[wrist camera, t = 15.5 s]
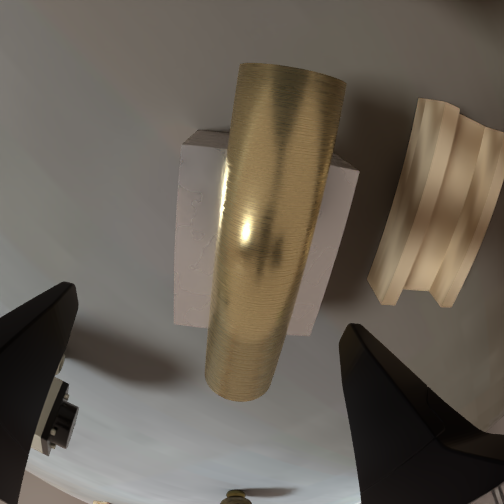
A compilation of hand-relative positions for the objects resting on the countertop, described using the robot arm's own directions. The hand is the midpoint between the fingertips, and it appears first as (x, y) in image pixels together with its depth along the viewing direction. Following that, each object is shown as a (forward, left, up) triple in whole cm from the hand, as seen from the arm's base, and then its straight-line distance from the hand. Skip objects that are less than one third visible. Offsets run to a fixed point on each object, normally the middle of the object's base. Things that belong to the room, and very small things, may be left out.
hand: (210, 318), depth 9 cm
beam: (-2, +15, -12) cm, 19 cm away
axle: (0, +2, -7) cm, 7 cm away
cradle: (+1, +2, -12) cm, 12 cm away
